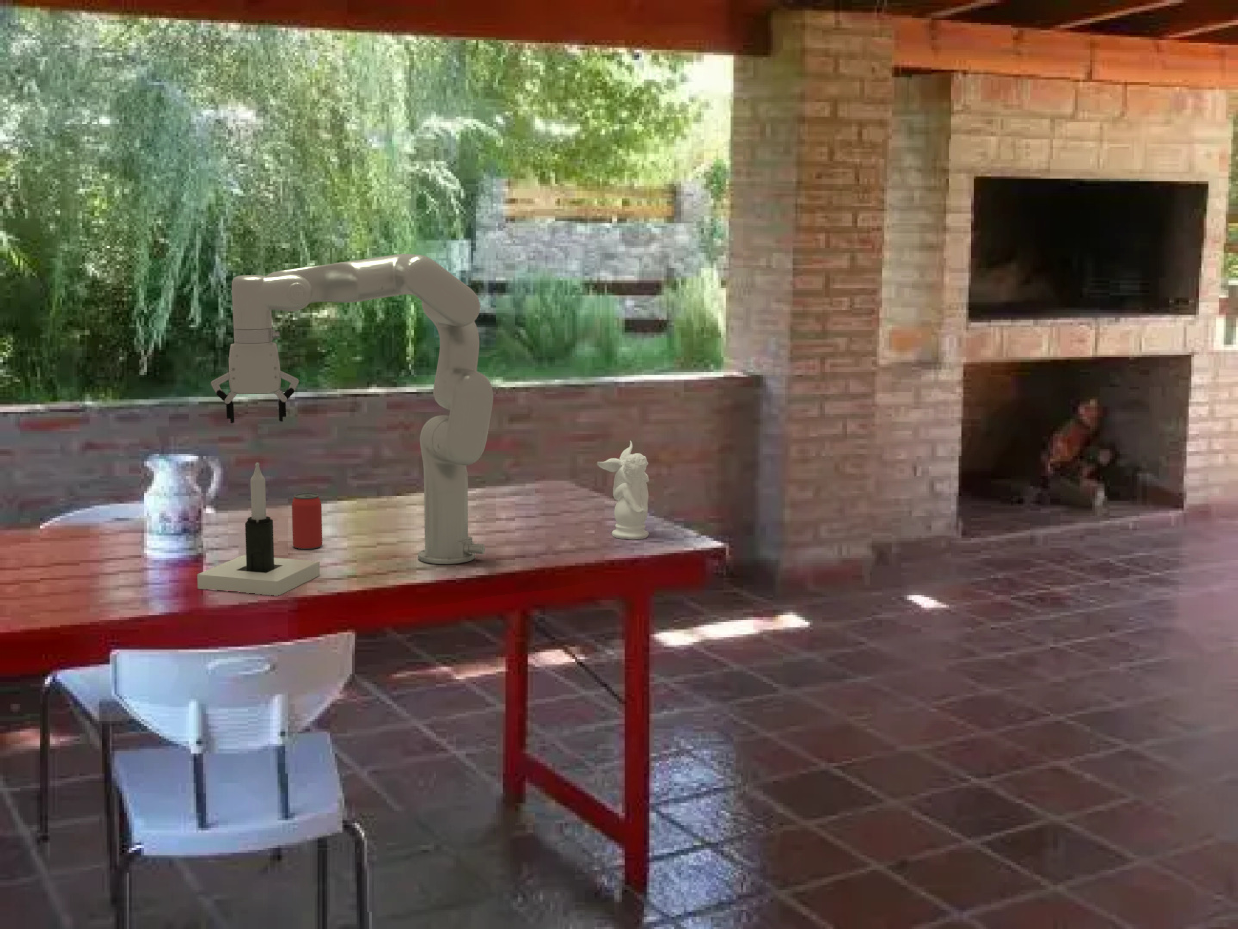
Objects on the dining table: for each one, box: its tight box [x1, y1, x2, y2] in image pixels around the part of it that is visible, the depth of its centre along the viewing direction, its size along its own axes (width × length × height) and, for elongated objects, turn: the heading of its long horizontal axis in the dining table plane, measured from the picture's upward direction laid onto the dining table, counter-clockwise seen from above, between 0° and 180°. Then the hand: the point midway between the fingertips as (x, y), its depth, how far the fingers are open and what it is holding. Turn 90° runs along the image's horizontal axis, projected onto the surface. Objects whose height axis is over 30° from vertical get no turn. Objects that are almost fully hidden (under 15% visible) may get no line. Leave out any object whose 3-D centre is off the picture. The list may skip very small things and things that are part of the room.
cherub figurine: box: [596, 440, 650, 540], centre depth 368 cm, size 12×12×22 cm
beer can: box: [291, 492, 323, 550], centre depth 354 cm, size 7×7×12 cm
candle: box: [244, 462, 275, 573], centre depth 321 cm, size 5×5×25 cm
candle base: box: [196, 554, 321, 597], centre depth 322 cm, size 18×18×3 cm
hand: (256, 421), depth 317 cm, fingers open, 9 cm apart
